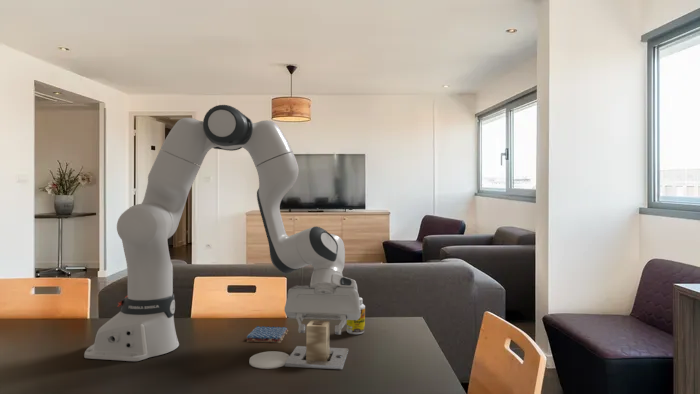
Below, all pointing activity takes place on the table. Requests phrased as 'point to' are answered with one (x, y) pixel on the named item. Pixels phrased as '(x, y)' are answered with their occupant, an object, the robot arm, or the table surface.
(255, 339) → the woven mat
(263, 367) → the pad
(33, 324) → the table surface
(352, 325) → the supplement bottle
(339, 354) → the rail plate
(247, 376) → the table surface
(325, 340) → the block
